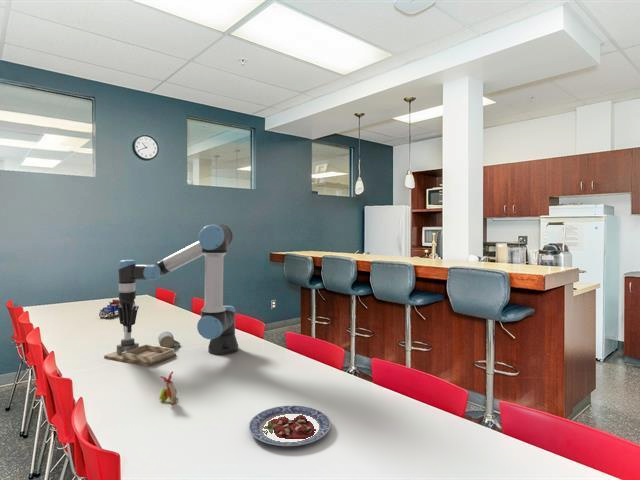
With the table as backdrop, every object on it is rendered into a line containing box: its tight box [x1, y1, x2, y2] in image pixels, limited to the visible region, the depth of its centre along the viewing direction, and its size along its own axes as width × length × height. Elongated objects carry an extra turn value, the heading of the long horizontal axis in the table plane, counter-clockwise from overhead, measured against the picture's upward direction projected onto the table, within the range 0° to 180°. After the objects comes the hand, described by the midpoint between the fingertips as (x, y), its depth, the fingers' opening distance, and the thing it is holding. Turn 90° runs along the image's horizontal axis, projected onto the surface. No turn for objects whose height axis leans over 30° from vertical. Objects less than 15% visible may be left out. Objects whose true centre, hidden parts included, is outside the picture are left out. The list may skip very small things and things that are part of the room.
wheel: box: [120, 337, 135, 346], centre depth 201 cm, size 6×6×6 cm
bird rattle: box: [158, 371, 178, 405], centre depth 148 cm, size 6×11×9 cm
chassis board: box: [103, 342, 177, 368], centre depth 198 cm, size 29×17×5 cm, turn 67°
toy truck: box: [98, 299, 120, 319], centre depth 289 cm, size 8×25×11 cm, turn 163°
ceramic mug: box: [157, 330, 181, 349], centre depth 214 cm, size 11×8×8 cm
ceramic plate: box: [248, 405, 332, 447], centre depth 129 cm, size 26×26×3 cm
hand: (127, 338), depth 201 cm, fingers closed
